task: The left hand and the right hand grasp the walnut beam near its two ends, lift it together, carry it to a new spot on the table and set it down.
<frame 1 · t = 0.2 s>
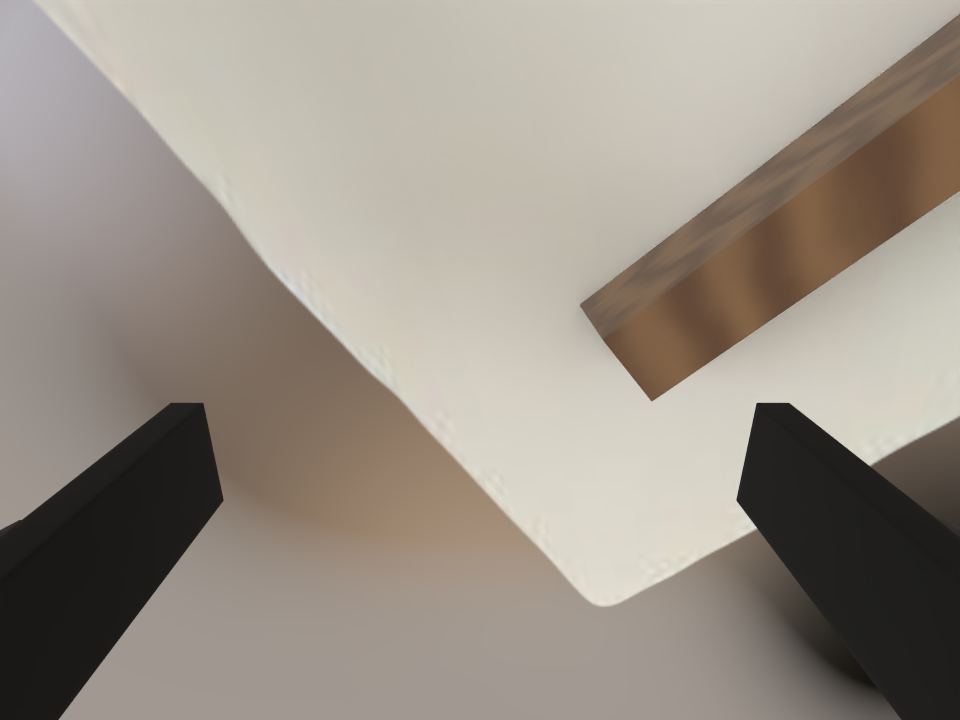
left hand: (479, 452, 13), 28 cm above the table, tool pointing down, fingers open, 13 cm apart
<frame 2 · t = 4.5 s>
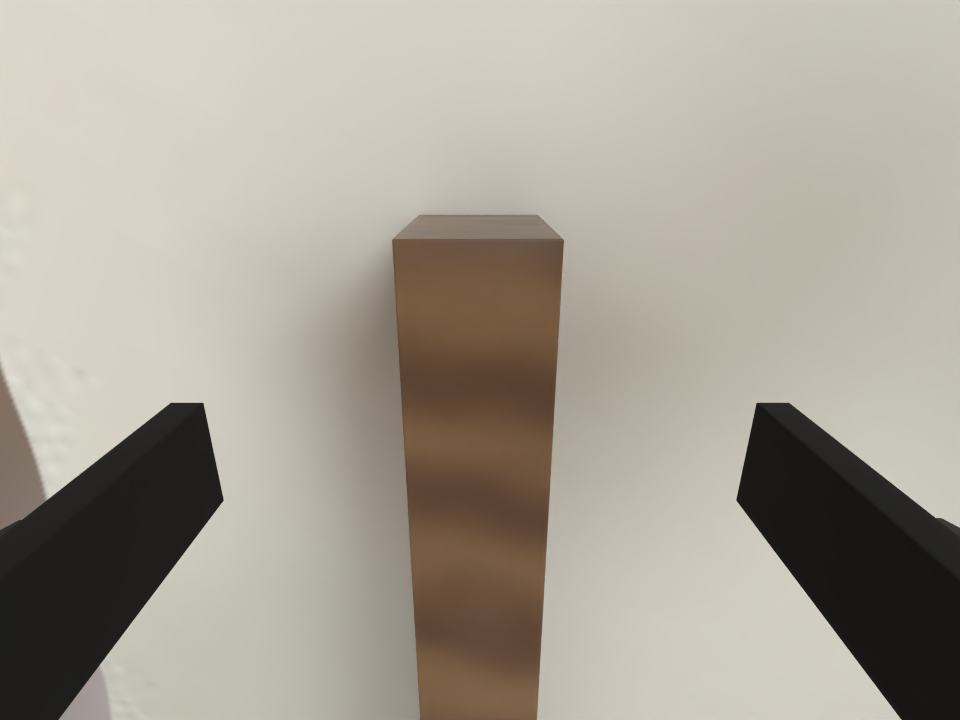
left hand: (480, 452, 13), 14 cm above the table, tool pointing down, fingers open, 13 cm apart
beam: (479, 661, 35), on the table, touching right hand
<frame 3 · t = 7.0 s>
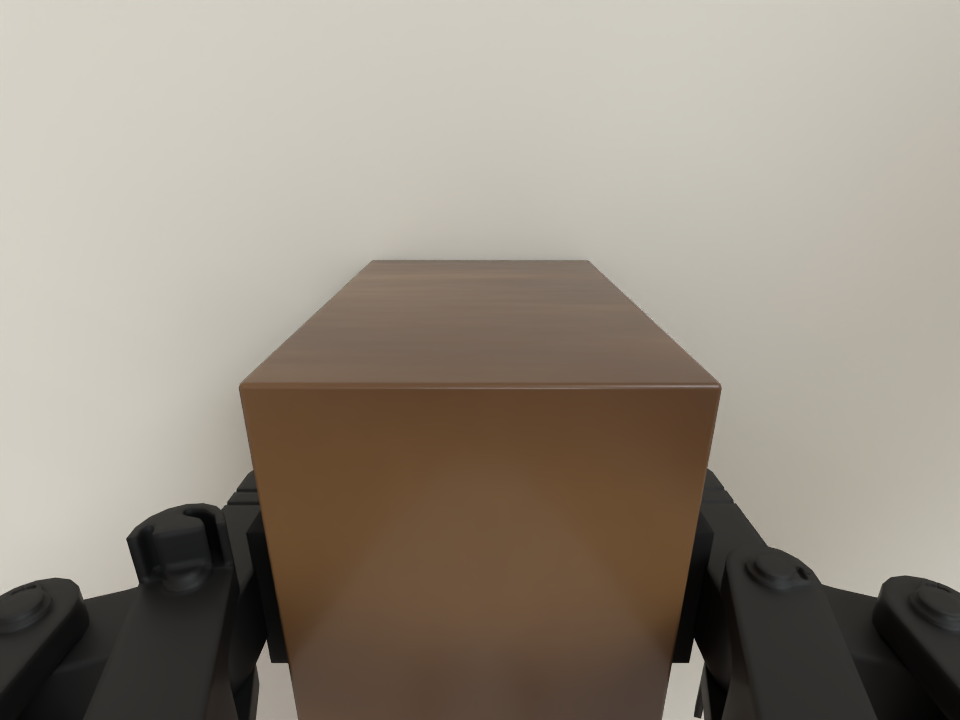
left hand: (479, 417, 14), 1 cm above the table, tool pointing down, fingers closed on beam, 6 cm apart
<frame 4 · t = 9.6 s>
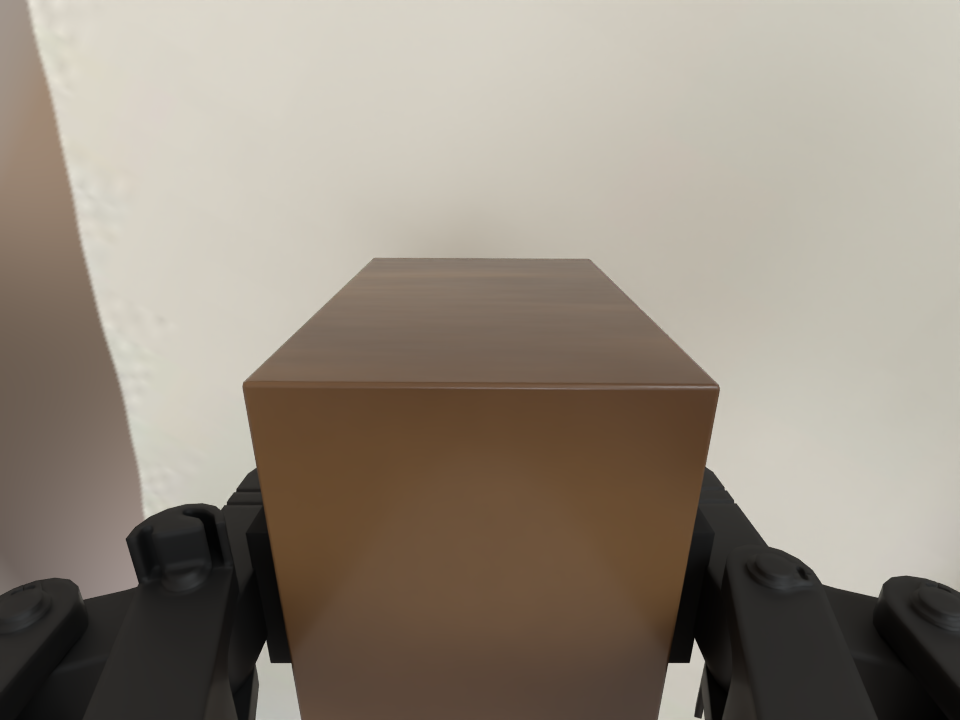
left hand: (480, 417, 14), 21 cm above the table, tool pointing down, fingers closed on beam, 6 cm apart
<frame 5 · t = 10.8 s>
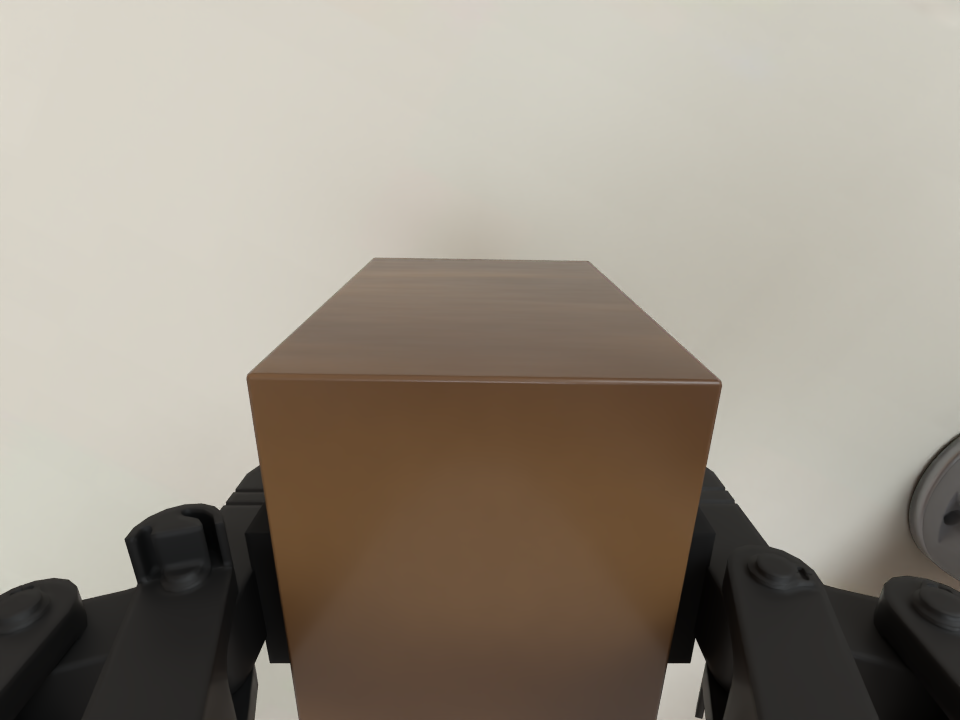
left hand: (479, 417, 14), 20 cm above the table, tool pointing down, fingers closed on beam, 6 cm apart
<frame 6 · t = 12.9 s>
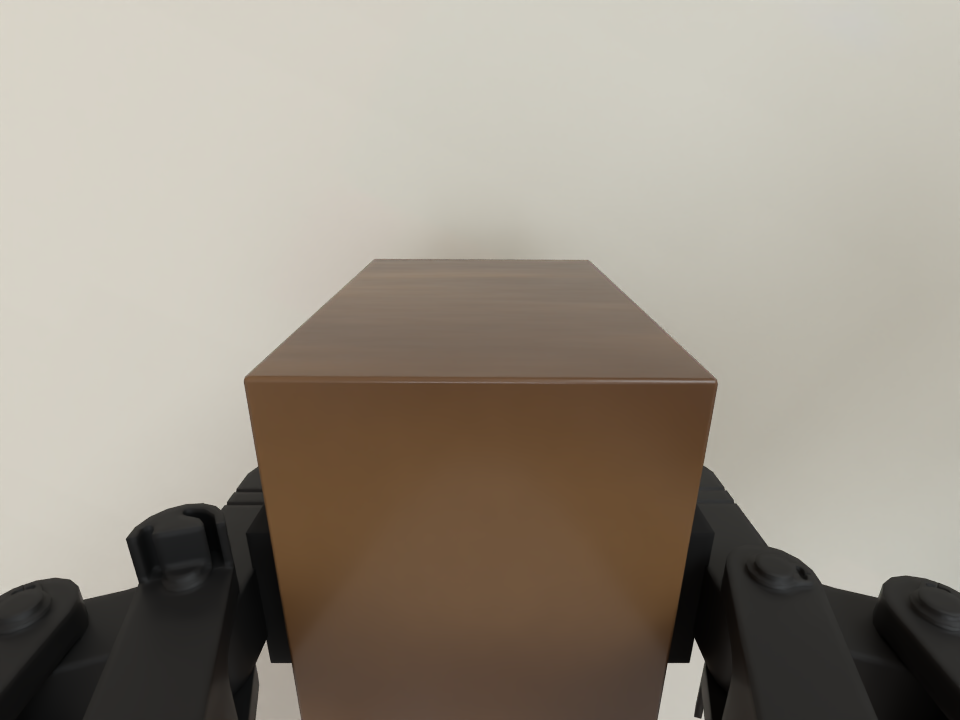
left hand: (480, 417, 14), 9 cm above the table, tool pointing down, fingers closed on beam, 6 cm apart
when the left hand's fingers open (1 cm above the table, at t = 14.5 s): beam stays where it is, on the table.
when the right hand's fingers open (3 cm above the table, at t = 14.7 s): beam stays where it is, on the table.
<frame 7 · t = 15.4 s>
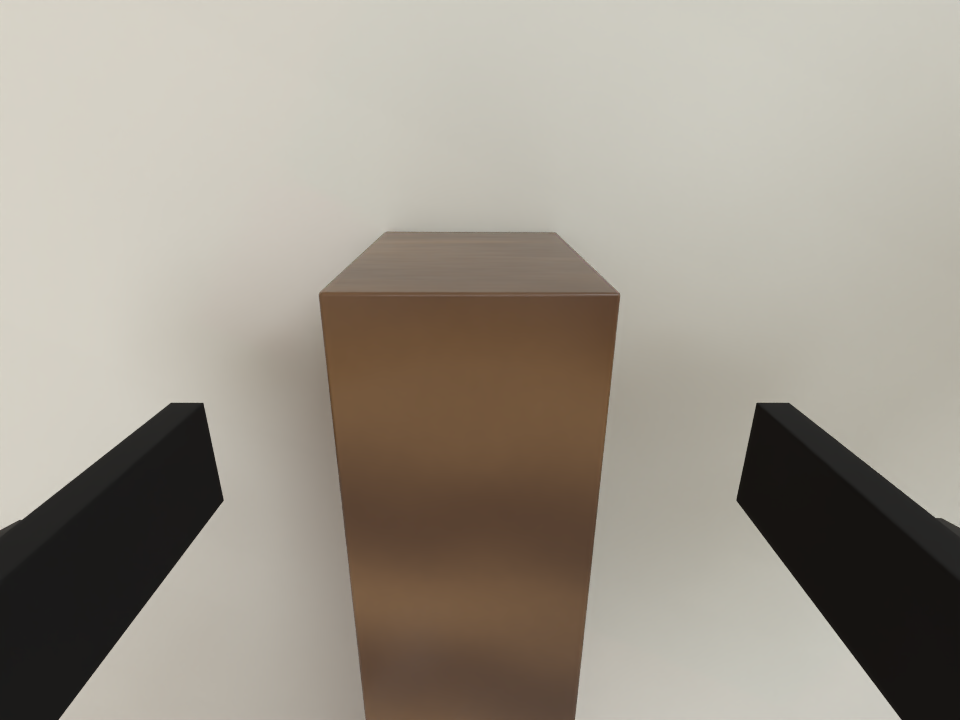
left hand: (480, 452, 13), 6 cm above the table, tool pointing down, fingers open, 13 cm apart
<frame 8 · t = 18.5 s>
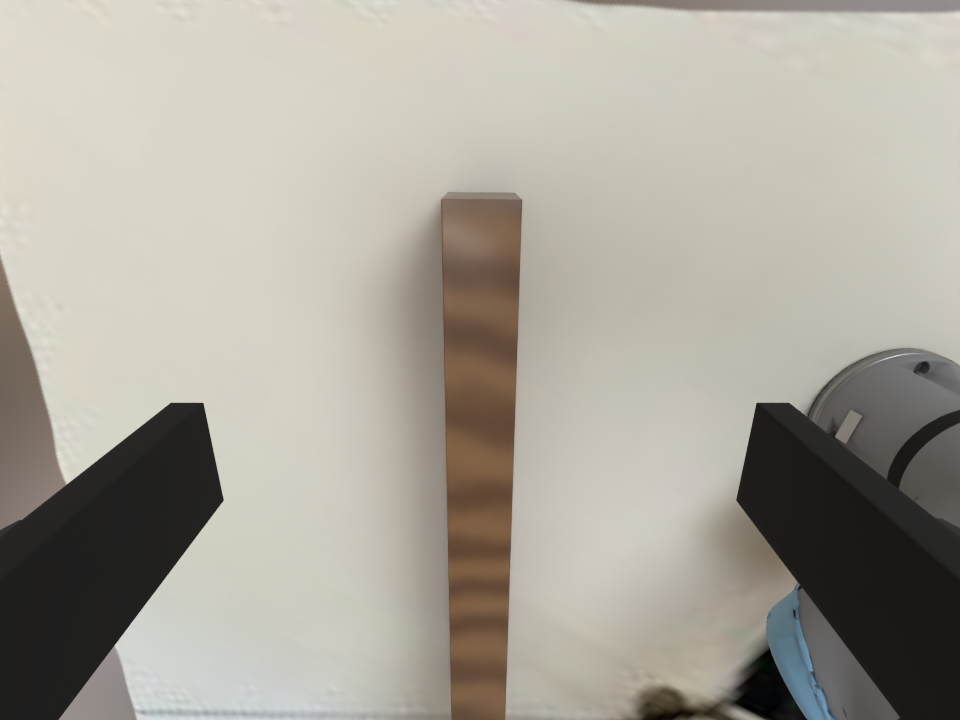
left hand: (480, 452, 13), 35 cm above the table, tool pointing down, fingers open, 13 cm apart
beam: (479, 484, 54), on the table
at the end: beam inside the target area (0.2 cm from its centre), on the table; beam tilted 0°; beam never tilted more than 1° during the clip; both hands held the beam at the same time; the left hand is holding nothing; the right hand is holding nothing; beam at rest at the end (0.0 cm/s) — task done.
